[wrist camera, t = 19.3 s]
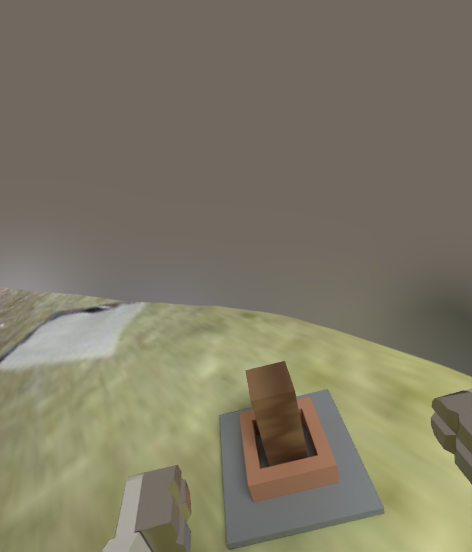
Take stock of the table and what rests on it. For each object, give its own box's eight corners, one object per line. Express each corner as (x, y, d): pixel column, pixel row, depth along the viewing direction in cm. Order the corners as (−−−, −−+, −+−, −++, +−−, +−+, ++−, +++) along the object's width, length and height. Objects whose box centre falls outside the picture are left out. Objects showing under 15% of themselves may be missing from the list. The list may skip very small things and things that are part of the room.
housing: (229, 549, 33) (219, 527, 31) (221, 420, 47) (214, 400, 45) (384, 513, 32) (383, 489, 31) (328, 394, 47) (325, 373, 45)
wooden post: (271, 475, 37) (250, 401, 32) (265, 441, 41) (245, 370, 36) (310, 466, 37) (294, 390, 32) (299, 433, 41) (284, 361, 36)
